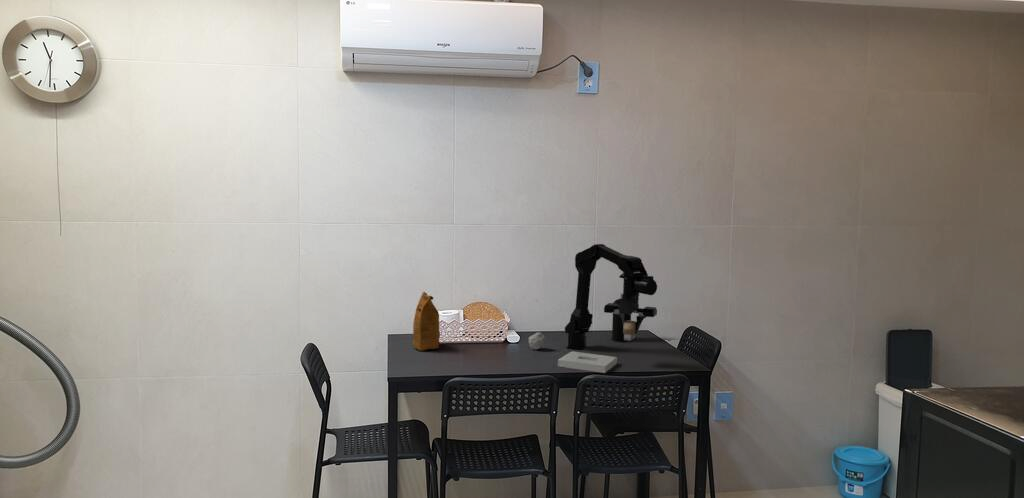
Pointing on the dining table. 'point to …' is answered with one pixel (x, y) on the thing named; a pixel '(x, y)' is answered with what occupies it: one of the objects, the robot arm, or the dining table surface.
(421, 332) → the coffee package
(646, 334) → the dining table surface
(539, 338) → the grey rock
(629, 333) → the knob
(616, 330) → the aerosol can
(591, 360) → the hub plate
